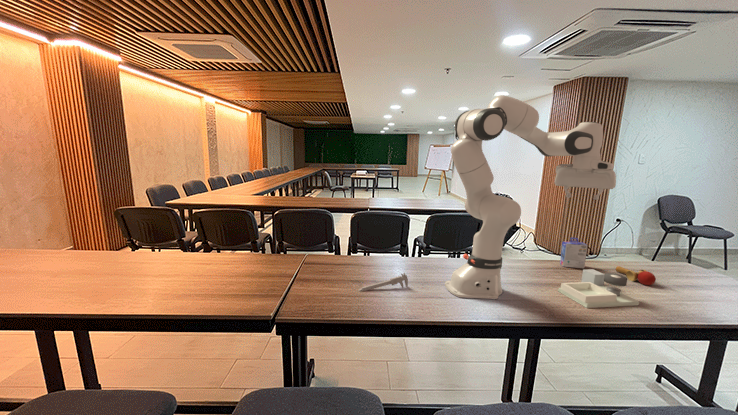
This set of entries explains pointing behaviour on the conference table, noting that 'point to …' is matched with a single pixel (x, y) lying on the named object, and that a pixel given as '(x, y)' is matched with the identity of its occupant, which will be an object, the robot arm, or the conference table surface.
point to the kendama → (638, 275)
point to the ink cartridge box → (573, 253)
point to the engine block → (593, 277)
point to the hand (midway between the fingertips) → (581, 198)
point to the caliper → (388, 282)
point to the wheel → (615, 279)
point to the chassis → (596, 295)
